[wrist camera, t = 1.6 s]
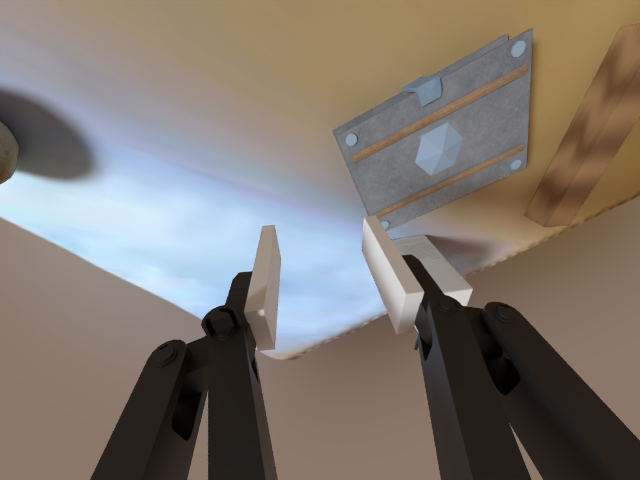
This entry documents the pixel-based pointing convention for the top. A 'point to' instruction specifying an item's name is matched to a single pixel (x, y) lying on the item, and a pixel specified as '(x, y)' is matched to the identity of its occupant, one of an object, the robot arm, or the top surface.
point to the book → (443, 133)
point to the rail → (592, 134)
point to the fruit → (7, 153)
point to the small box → (436, 267)
